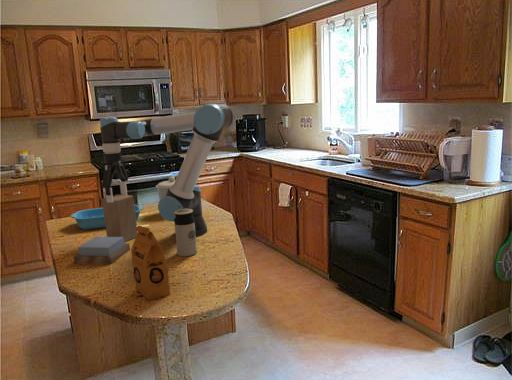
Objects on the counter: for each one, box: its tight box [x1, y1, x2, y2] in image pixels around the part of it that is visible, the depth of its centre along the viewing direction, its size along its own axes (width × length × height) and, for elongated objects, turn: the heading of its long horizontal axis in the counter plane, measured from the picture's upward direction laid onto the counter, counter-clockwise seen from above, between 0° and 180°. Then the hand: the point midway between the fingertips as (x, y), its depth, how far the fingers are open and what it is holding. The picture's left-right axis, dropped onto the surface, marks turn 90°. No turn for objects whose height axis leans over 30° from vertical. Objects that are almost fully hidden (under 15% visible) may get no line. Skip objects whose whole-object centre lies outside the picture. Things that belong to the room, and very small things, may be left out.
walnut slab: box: [73, 242, 131, 265], centre depth 174 cm, size 16×16×4 cm
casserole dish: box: [70, 204, 145, 230], centre depth 225 cm, size 37×22×7 cm, turn 111°
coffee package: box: [130, 224, 171, 301], centre depth 136 cm, size 10×12×22 cm
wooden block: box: [101, 193, 138, 243], centre depth 195 cm, size 10×10×20 cm
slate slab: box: [78, 236, 126, 256], centre depth 173 cm, size 13×13×4 cm
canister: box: [155, 175, 176, 201], centre depth 237 cm, size 18×18×21 cm
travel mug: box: [173, 209, 198, 257], centre depth 171 cm, size 8×8×18 cm
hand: (117, 198), depth 192 cm, fingers open, 13 cm apart
